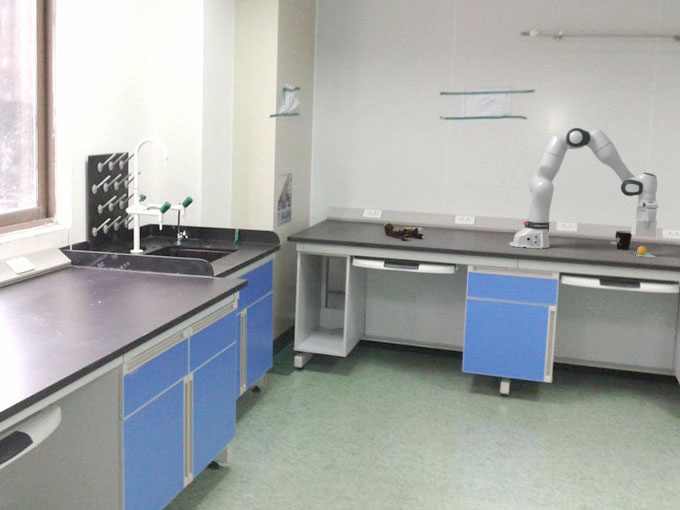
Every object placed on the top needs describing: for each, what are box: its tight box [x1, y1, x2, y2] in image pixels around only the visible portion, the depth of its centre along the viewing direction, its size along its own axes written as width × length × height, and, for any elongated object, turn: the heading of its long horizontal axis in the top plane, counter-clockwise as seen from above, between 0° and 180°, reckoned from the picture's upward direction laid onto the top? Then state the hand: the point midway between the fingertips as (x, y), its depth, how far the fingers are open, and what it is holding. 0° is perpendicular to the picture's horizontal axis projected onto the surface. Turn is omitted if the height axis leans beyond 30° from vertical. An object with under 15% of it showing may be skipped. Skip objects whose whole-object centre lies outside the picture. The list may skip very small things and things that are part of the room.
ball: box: [636, 245, 648, 255], centre depth 431 cm, size 5×5×5 cm
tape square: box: [636, 253, 656, 258], centre depth 431 cm, size 10×10×1 cm
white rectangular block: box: [630, 218, 658, 238], centre depth 429 cm, size 11×7×9 cm, turn 88°
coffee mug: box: [614, 230, 633, 251], centre depth 450 cm, size 12×9×10 cm
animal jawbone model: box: [383, 221, 424, 242], centre depth 467 cm, size 17×25×10 cm
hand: (644, 228), depth 429 cm, fingers closed on white rectangular block, 7 cm apart
